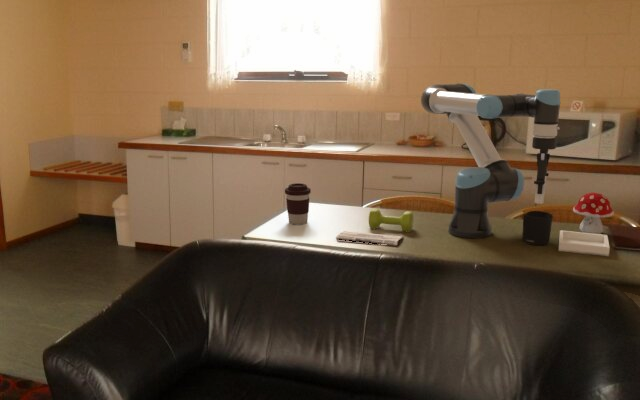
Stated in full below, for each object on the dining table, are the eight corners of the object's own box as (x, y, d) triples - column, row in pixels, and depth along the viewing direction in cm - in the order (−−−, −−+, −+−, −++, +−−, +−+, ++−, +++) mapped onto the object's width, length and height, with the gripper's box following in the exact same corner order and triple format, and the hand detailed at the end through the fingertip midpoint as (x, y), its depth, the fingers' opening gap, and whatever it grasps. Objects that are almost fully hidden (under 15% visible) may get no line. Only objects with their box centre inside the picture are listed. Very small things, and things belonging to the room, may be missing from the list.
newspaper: (334, 243, 205) (334, 236, 205) (345, 237, 216) (345, 230, 216) (397, 249, 197) (398, 242, 197) (405, 243, 209) (406, 236, 208)
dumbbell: (366, 230, 219) (367, 211, 217) (372, 224, 226) (372, 206, 224) (410, 234, 213) (411, 215, 212) (414, 228, 221) (415, 210, 219)
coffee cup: (315, 221, 230) (315, 184, 227) (301, 227, 222) (301, 188, 219) (295, 217, 236) (294, 181, 232) (280, 223, 227) (279, 185, 224)
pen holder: (516, 238, 208) (518, 211, 205) (542, 237, 209) (544, 210, 206) (528, 246, 198) (531, 218, 196) (555, 245, 199) (557, 217, 197)
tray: (558, 250, 194) (559, 242, 193) (559, 238, 207) (560, 230, 207) (608, 256, 188) (609, 247, 188) (606, 243, 202) (607, 234, 201)
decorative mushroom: (616, 239, 206) (621, 198, 202) (574, 237, 209) (578, 196, 205) (606, 228, 219) (610, 189, 216) (566, 226, 222) (570, 188, 218)
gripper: (556, 141, 182) (550, 208, 187) (557, 132, 205) (552, 192, 210) (530, 140, 185) (525, 206, 190) (534, 132, 207) (530, 190, 212)
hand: (539, 198), depth 200 cm, fingers open, 13 cm apart
